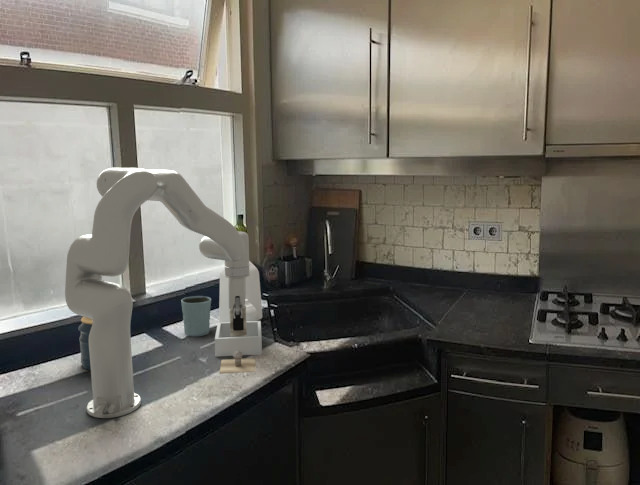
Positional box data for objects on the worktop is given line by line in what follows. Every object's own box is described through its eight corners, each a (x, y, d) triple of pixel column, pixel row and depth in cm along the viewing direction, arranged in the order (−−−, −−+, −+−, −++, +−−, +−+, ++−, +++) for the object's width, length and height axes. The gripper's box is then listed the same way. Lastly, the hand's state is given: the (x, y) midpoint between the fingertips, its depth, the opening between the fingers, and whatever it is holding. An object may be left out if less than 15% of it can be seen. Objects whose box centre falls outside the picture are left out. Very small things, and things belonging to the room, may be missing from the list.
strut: (231, 350, 168) (229, 310, 166) (231, 345, 173) (230, 306, 171) (247, 349, 169) (245, 309, 167) (247, 344, 174) (245, 305, 172)
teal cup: (177, 335, 185) (175, 302, 183) (191, 326, 195) (189, 294, 193) (204, 338, 183) (203, 304, 181) (216, 328, 192) (215, 296, 190)
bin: (261, 358, 164) (261, 336, 163) (215, 361, 162) (214, 339, 161) (260, 340, 180) (260, 320, 179) (218, 342, 178) (217, 322, 177)
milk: (245, 326, 195) (243, 256, 190) (219, 322, 199) (216, 254, 195) (262, 317, 205) (261, 251, 201) (237, 314, 210) (235, 248, 206)
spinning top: (254, 328, 193) (253, 296, 191) (259, 335, 186) (258, 301, 184) (233, 330, 190) (232, 297, 188) (237, 337, 183) (236, 303, 181)
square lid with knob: (255, 376, 151) (255, 356, 150) (219, 378, 150) (219, 358, 149) (255, 362, 161) (255, 344, 160) (221, 364, 160) (221, 345, 159)
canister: (82, 358, 165) (78, 302, 162) (127, 352, 169) (123, 298, 167) (79, 374, 153) (75, 314, 150) (128, 367, 157) (124, 309, 155)
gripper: (226, 265, 175) (227, 318, 178) (223, 277, 158) (225, 336, 161) (249, 265, 176) (250, 317, 179) (249, 277, 159) (250, 335, 162)
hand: (238, 326), depth 170 cm, fingers open, 6 cm apart
